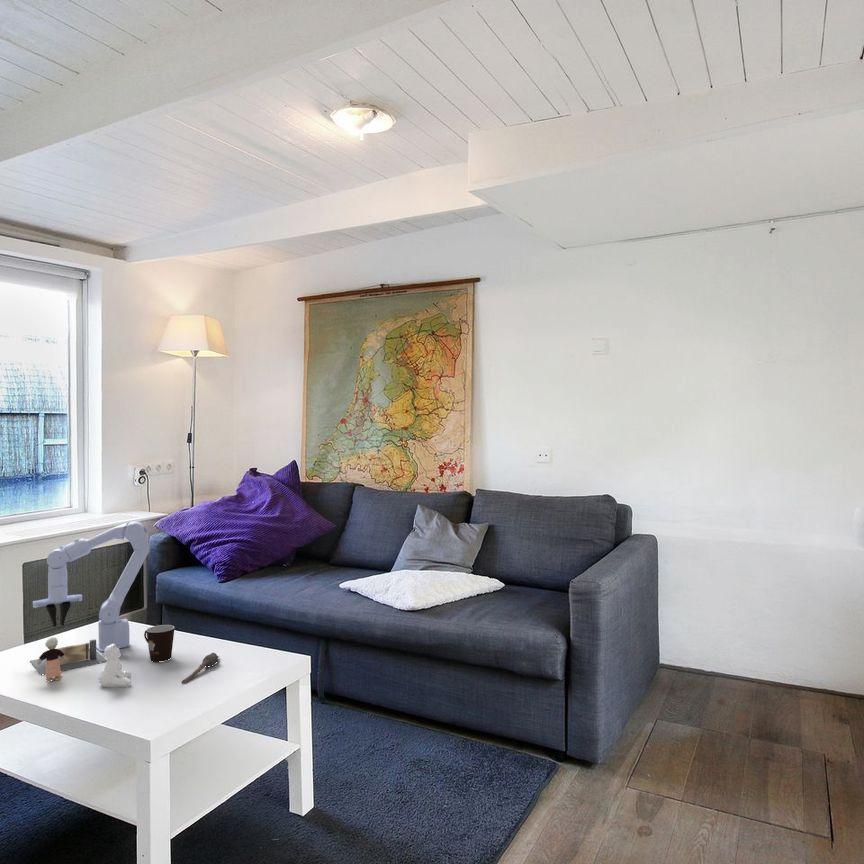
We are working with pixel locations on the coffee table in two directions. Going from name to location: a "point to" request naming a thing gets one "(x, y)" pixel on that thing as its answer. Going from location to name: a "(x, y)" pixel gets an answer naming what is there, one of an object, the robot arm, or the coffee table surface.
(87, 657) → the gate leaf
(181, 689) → the coffee table surface
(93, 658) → the gate frame
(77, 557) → the robot arm
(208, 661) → the natural artifact
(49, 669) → the grandmother figurine
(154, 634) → the coffee mug
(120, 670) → the sitting furry creature
